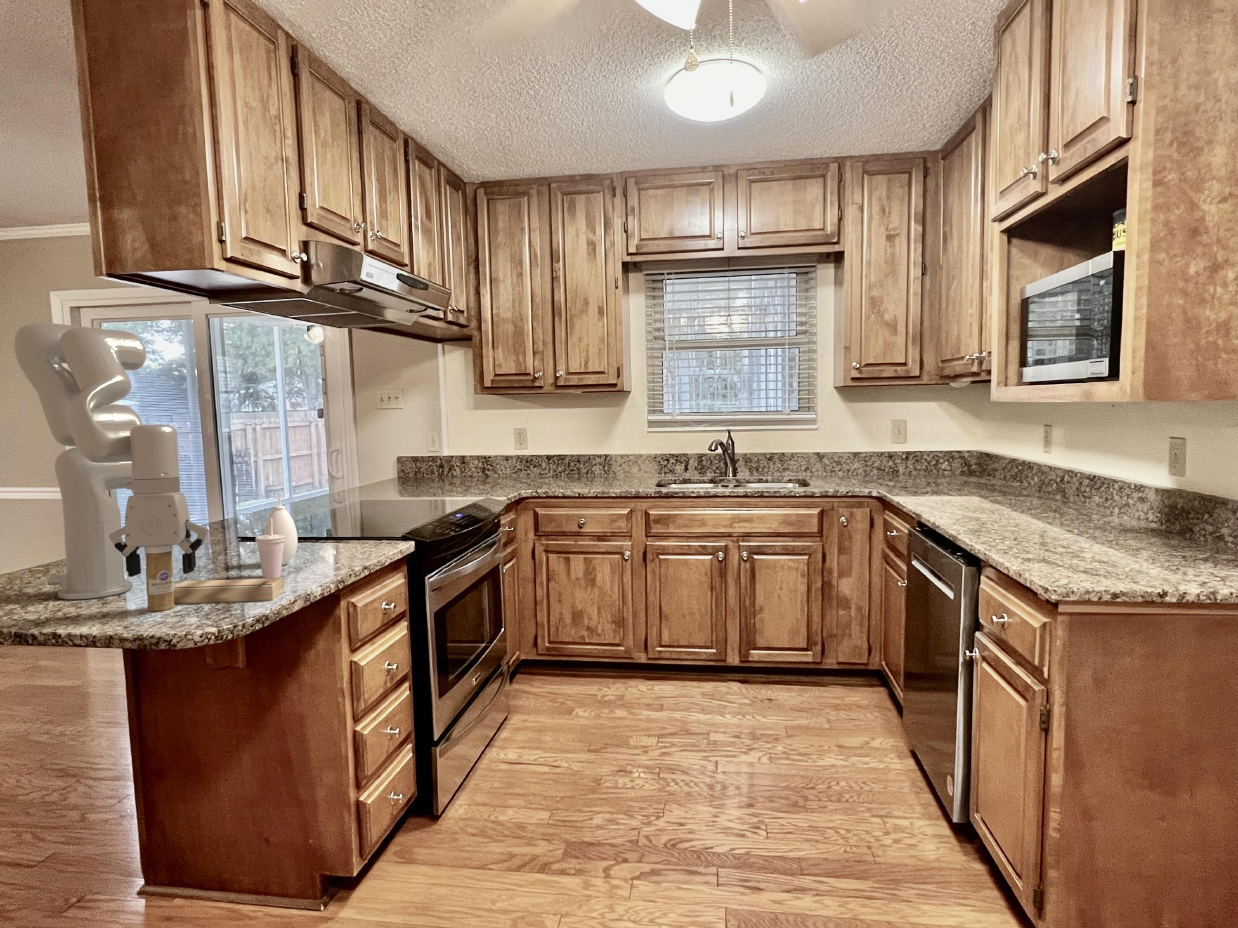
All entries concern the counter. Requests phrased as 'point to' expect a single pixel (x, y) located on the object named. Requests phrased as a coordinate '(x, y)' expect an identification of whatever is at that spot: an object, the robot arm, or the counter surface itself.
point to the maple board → (228, 590)
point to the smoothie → (271, 553)
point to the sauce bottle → (283, 531)
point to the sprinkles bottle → (159, 578)
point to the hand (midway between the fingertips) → (161, 573)
